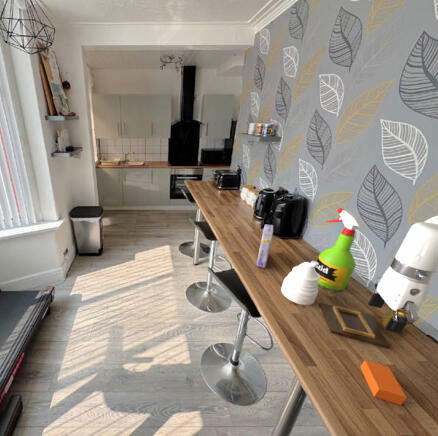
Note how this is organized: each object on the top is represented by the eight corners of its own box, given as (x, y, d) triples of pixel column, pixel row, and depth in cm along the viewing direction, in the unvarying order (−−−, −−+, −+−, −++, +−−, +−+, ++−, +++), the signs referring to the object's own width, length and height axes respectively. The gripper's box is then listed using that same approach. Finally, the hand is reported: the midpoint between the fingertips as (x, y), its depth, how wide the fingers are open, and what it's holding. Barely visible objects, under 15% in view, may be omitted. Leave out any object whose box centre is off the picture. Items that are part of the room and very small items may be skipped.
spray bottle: (320, 266, 125) (344, 204, 111) (353, 288, 108) (386, 219, 94) (298, 268, 122) (320, 205, 108) (328, 291, 106) (359, 221, 92)
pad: (383, 374, 72) (388, 367, 70) (400, 405, 64) (407, 397, 63) (360, 367, 74) (364, 359, 72) (373, 396, 66) (379, 388, 64)
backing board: (368, 316, 93) (371, 312, 92) (389, 348, 80) (392, 343, 79) (319, 304, 98) (321, 300, 97) (330, 332, 85) (333, 327, 84)
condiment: (398, 338, 85) (415, 313, 80) (369, 322, 91) (382, 298, 86) (405, 330, 88) (421, 306, 83) (376, 315, 95) (389, 291, 90)
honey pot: (321, 299, 101) (336, 265, 94) (302, 308, 96) (316, 272, 88) (293, 282, 111) (304, 249, 104) (274, 289, 106) (285, 255, 99)
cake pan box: (258, 249, 138) (265, 222, 131) (267, 252, 136) (275, 224, 129) (254, 266, 122) (262, 236, 115) (265, 269, 120) (273, 238, 113)
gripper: (456, 294, 52) (418, 347, 59) (409, 255, 67) (383, 301, 74) (413, 285, 55) (381, 337, 62) (377, 249, 70) (354, 295, 76)
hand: (382, 317), depth 68 cm, fingers open, 9 cm apart
